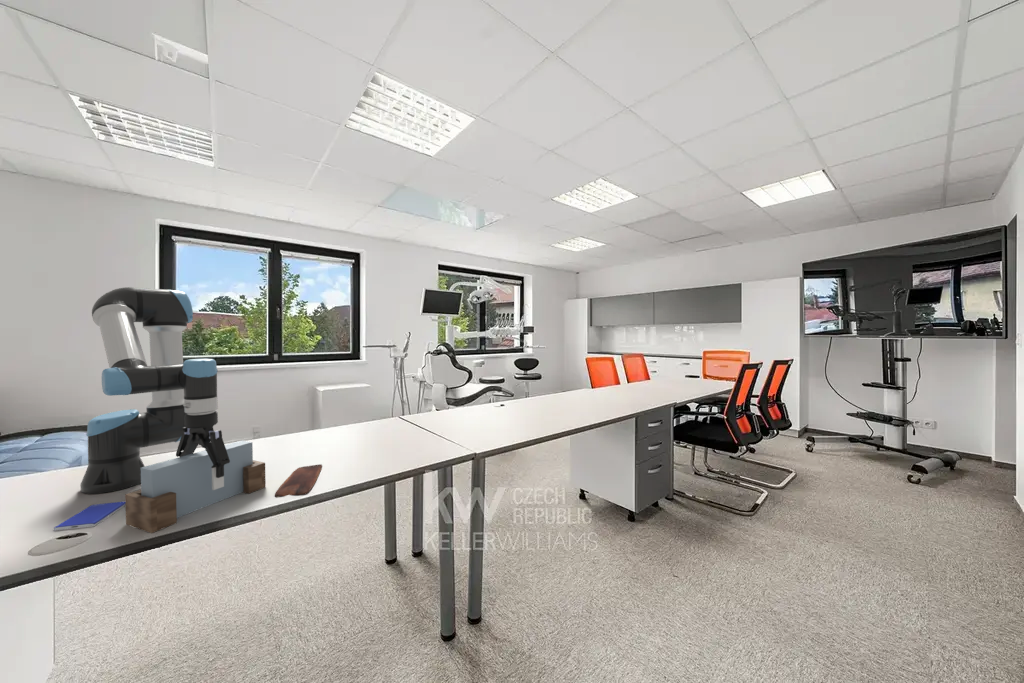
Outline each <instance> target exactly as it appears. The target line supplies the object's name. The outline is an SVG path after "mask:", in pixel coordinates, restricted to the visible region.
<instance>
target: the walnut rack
mask: <svg viewBox="0 0 1024 683" xmlns="http://www.w3.org/2000/svg"><path fill="white" fill-rule="evenodd" d="M243 487H244V492H243V493H245V494H248V495H249V494H253V493H254V492H256V491H259V490H261V489H264V488H266V462H265V461H264V462H263V461H257V460H254V459H253V464H252V465H249V466H246V467H243ZM124 497H125V498H124V499H125V500H124V502H125V506H124V507H125V525H127V526H130V527H133V528H135V529H139V530H140V531H141V530H142V531H143V532H147V533H150V534H153V533H155V532H157V531H160V530H164V529H165V528H167V527H170V526H173V525H175V524H177V523H178V519H177V509H176V493H174V492H168V493H165V494H162V495H159V496H156V497H153V498H148V497H145V496H141V489H138V490H135V491H131V492H128V493H125V495H124Z"/></svg>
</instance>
